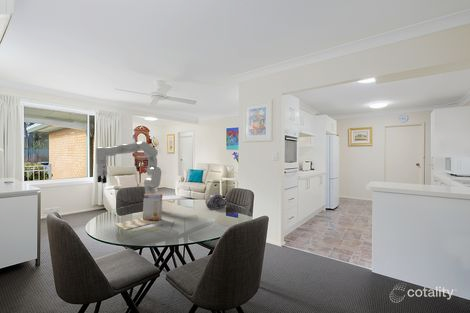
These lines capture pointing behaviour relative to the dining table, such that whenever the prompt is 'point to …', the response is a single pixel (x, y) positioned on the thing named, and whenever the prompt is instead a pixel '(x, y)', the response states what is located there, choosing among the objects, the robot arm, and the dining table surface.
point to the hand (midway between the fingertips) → (102, 182)
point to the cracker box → (152, 207)
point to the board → (133, 223)
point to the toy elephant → (215, 201)
